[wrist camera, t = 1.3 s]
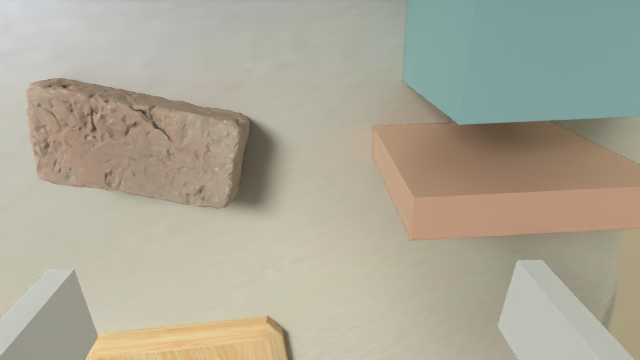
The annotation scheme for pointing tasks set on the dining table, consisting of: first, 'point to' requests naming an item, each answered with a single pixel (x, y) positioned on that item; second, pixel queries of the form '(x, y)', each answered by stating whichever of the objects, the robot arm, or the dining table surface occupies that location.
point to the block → (525, 58)
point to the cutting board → (196, 342)
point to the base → (504, 180)
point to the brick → (135, 143)
